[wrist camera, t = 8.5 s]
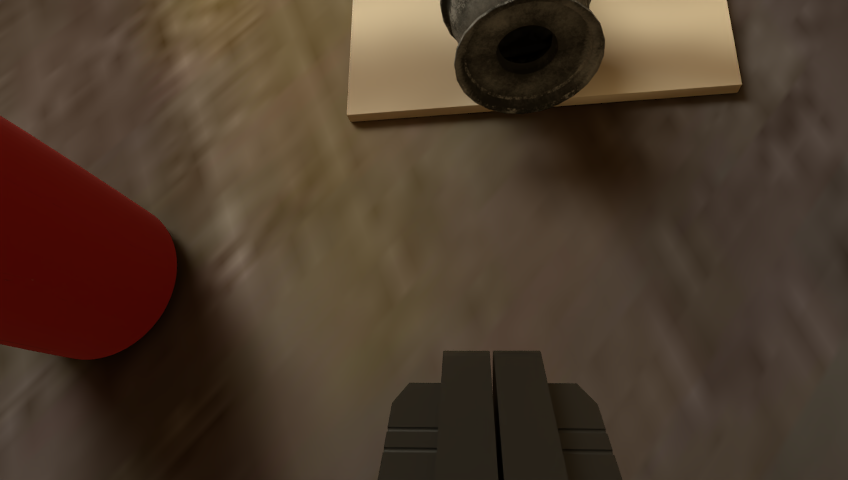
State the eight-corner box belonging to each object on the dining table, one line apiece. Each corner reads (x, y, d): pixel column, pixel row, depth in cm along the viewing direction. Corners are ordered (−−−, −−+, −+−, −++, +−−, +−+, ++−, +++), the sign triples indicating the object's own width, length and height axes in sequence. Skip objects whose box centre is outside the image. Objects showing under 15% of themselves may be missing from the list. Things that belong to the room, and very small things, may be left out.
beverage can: (52, 220, 28) (-259, 67, 17) (192, 201, 28) (-40, 26, 16) (31, 371, 26) (-343, 307, 15) (183, 355, 25) (-92, 274, 14)
